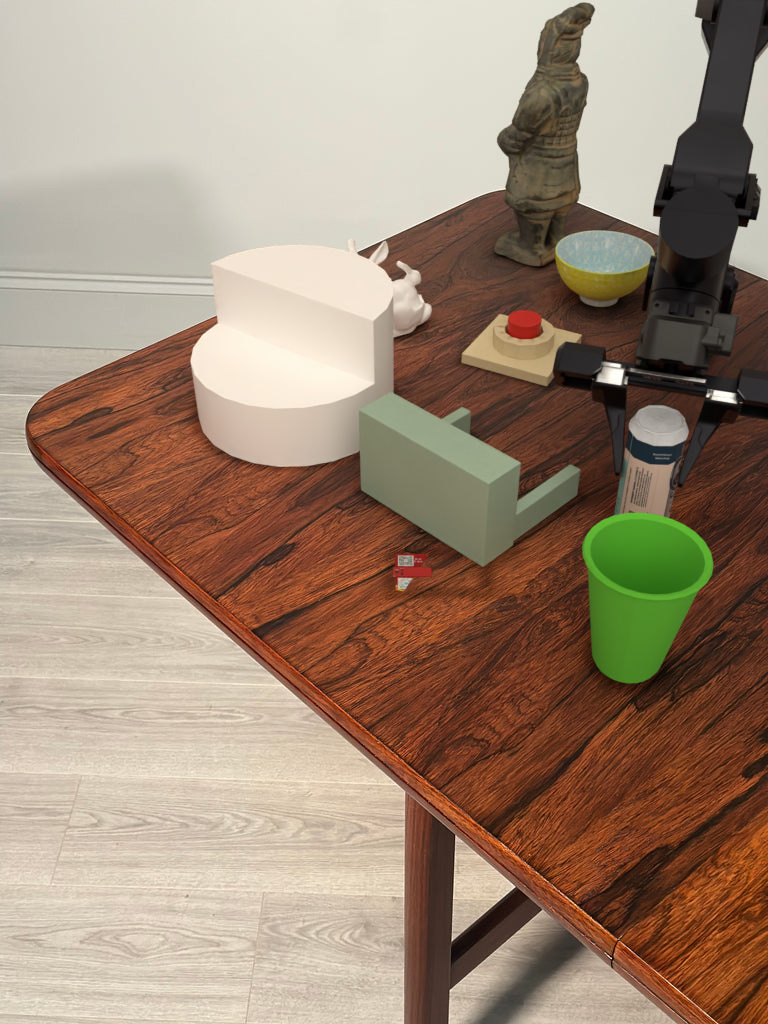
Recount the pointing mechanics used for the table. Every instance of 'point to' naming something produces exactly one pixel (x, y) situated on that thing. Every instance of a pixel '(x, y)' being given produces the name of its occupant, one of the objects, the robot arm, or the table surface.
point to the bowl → (602, 265)
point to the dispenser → (451, 478)
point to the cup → (640, 590)
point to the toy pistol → (409, 569)
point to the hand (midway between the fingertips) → (648, 481)
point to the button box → (518, 351)
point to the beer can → (651, 461)
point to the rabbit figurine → (402, 294)
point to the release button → (524, 324)
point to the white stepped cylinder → (293, 353)
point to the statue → (546, 142)
